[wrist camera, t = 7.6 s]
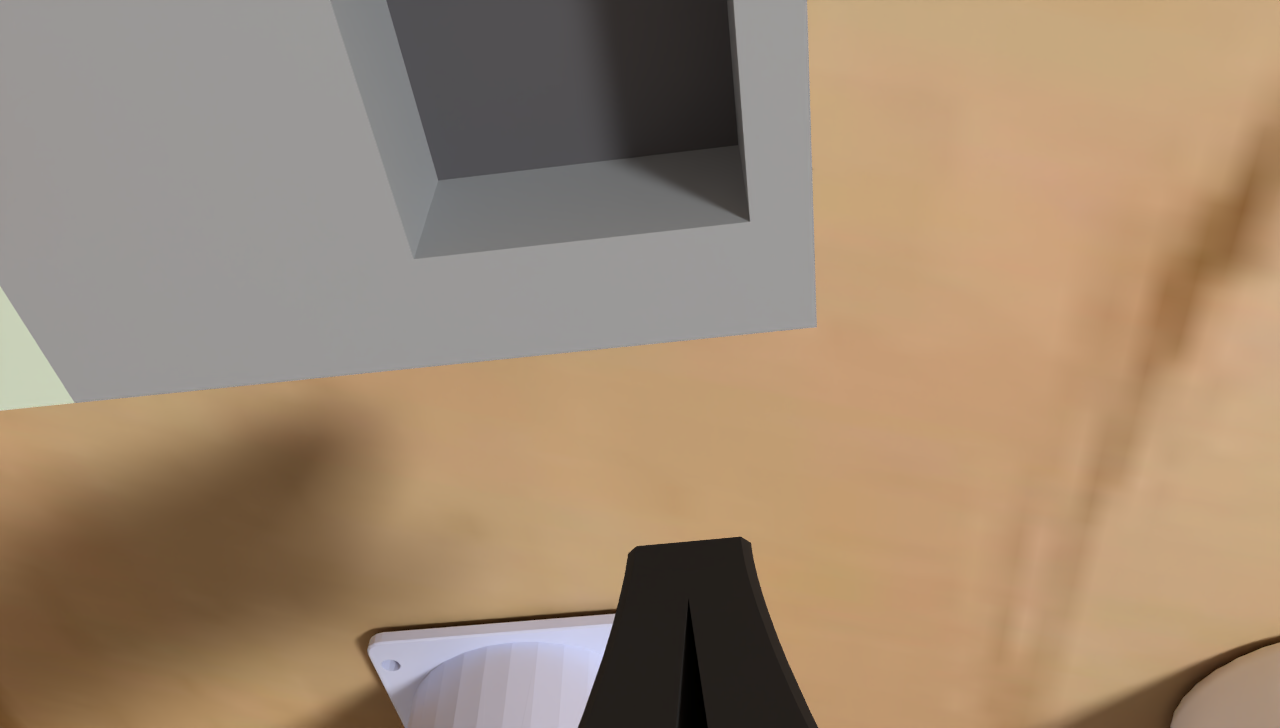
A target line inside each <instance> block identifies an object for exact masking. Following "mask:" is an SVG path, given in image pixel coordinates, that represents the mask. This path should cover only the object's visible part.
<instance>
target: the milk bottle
mask: <svg viewBox="0 0 1280 728" xmlns="http://www.w3.org/2000/svg"><path fill="white" fill-rule="evenodd" d="M1170 728H1280V642H1279V643H1276V644H1273V645H1269V646H1266V647H1263V648H1260V649H1258V650H1256V651H1253V652H1251V653H1249V654H1246V655H1244V656H1241V657H1239V658H1236V659H1235V660H1233V661H1231V662H1229V663H1228V664H1226V665H1224V666H1222V667H1220V668H1218V669H1217V670H1215V671H1213V672H1212V673H1211V674H1210V675H1208V676H1207V677H1206V678H1204V679H1203V680H1201V681H1200V682H1199V683H1197V684H1196V685H1195V686H1194V687H1193V688H1192V689H1191V690H1190V691H1189V692H1188V693H1187V694H1186V695H1185V696H1184V697H1183V698H1182V700H1181V702H1180V704H1179V705H1178V707H1177V708H1176V710H1175V711H1174V715H1173V719H1172V722H1171V725H1170Z"/></svg>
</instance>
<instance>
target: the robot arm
mask: <svg viewBox="0 0 1280 728" xmlns="http://www.w3.org/2000/svg"><path fill="white" fill-rule="evenodd" d="M367 651H368V655H369V657H370V659H371V661H372V663H373V665H374V667H375V669H376V671H377V673H378V675H379V677H380V679H381V681H382V683H383V685H384V687H385V689H386V691H387V693H388V695H389V697H390V699H391V701H392V703H393V705H394V707H395V709H396V711H397V713H398V715H399V717H400V719H401V721H402V723H403V725H404V727H405V728H818V726H817V724H816V722H815V720H814V718H813V716H812V714H811V712H810V710H809V708H808V706H807V704H806V701H805V699H804V697H803V695H802V692H801V690H800V688H799V686H798V684H797V681H796V679H795V677H794V675H793V673H792V670H791V668H790V666H789V664H788V661H787V659H786V657H785V654H784V652H783V649H782V647H781V644H780V642H779V639H778V637H777V634H776V631H775V629H774V626H773V623H772V620H771V618H770V615H769V612H768V609H767V606H766V603H765V600H764V597H763V594H762V591H761V587H760V584H759V580H758V577H757V573H756V568H755V564H754V560H753V554H752V548H751V543H750V542H748V541H747V540H745V539H743V538H742V537H733V538H722V539H711V540H700V541H689V542H679V543H668V544H657V545H646V546H636V547H635V548H634V549H633V550H632V551H631V552H630V553H629V554H628V559H627V565H626V571H625V576H624V581H623V585H622V590H621V594H620V599H619V603H618V606H617V610H616V614H603V615H591V616H578V617H566V618H553V619H541V620H528V621H516V622H504V623H491V624H479V625H466V626H454V627H441V628H429V629H416V630H404V631H391V632H382V633H378V634H375V635H374V636H372V637H371V639H370V641H369V645H368V649H367Z"/></svg>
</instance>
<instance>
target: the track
mask: <svg viewBox="0 0 1280 728" xmlns="http://www.w3.org/2000/svg"><path fill="white" fill-rule="evenodd" d="M813 327H817V321H816V288H815V254H814V221H813V188H812V155H811V121H810V88H809V55H808V21H807V0H0V411H1V410H11V409H20V408H30V407H40V406H50V405H59V404H69V403H79V402H89V401H99V400H108V399H118V398H128V397H138V396H147V395H157V394H167V393H177V392H187V391H196V390H206V389H216V388H226V387H235V386H245V385H255V384H265V383H275V382H284V381H294V380H304V379H314V378H324V377H333V376H343V375H353V374H363V373H372V372H382V371H392V370H402V369H412V368H421V367H431V366H441V365H451V364H460V363H470V362H480V361H490V360H500V359H509V358H519V357H529V356H539V355H548V354H558V353H568V352H578V351H588V350H597V349H607V348H617V347H627V346H637V345H646V344H656V343H666V342H676V341H685V340H695V339H705V338H715V337H725V336H734V335H744V334H754V333H764V332H773V331H783V330H793V329H803V328H813Z"/></svg>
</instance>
